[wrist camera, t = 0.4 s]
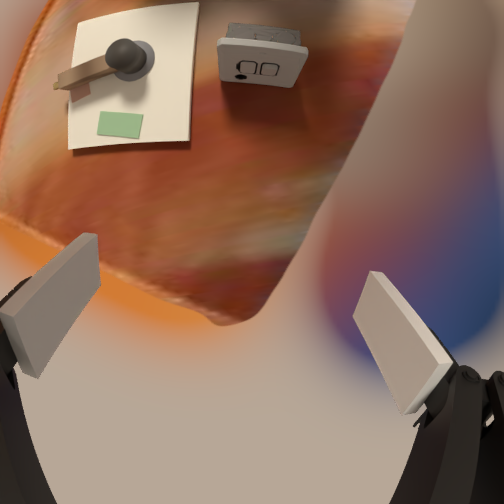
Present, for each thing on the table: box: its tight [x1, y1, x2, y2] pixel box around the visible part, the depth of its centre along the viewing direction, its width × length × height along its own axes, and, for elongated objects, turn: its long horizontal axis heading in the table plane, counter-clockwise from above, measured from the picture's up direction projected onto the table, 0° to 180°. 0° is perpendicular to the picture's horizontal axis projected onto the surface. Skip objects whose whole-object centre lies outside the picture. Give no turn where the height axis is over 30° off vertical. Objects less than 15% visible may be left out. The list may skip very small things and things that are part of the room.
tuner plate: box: [68, 2, 200, 150], centre depth 30 cm, size 20×18×2 cm
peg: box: [53, 38, 147, 90], centre depth 26 cm, size 14×4×4 cm, turn 97°
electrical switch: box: [217, 23, 308, 88], centre depth 27 cm, size 9×5×9 cm, turn 84°
